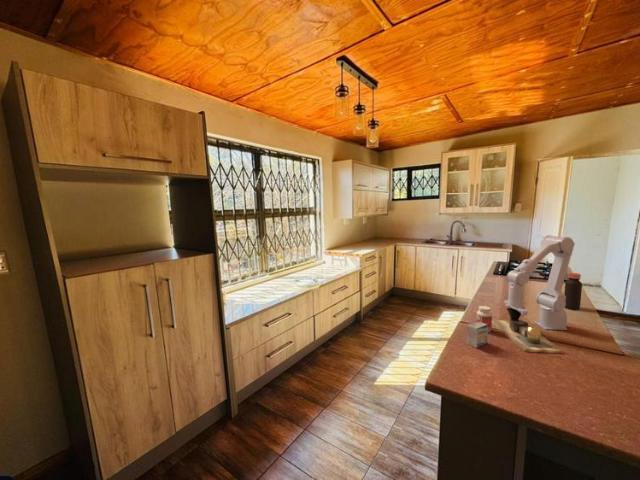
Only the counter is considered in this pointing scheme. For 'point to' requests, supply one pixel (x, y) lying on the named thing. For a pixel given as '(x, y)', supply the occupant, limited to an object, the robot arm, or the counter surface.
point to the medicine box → (477, 334)
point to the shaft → (520, 327)
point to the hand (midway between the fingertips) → (514, 323)
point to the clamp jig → (525, 338)
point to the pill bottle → (485, 316)
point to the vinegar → (573, 291)
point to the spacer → (533, 334)
